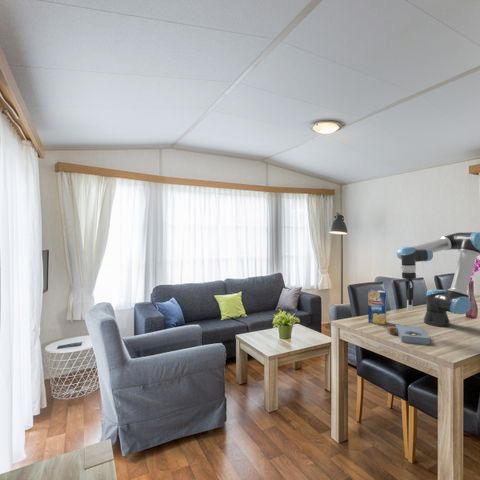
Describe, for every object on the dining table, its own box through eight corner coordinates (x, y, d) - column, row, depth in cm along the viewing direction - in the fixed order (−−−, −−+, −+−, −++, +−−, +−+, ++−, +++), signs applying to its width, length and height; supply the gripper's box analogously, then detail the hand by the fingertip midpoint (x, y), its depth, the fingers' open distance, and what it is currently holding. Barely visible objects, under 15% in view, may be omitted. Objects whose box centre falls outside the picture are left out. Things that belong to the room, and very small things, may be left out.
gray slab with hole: (395, 330, 193) (395, 324, 193) (420, 332, 189) (420, 326, 189) (401, 341, 173) (401, 335, 173) (429, 344, 168) (429, 338, 168)
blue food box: (385, 324, 207) (385, 292, 206) (368, 322, 212) (368, 291, 212) (386, 321, 213) (386, 290, 212) (369, 319, 218) (369, 289, 218)
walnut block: (393, 332, 190) (393, 326, 190) (396, 334, 186) (396, 328, 186) (387, 332, 190) (387, 326, 190) (390, 334, 186) (389, 328, 186)
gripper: (400, 270, 194) (401, 307, 195) (404, 273, 182) (405, 312, 182) (413, 270, 192) (414, 307, 192) (418, 273, 180) (419, 312, 180)
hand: (410, 309), depth 187 cm, fingers closed
